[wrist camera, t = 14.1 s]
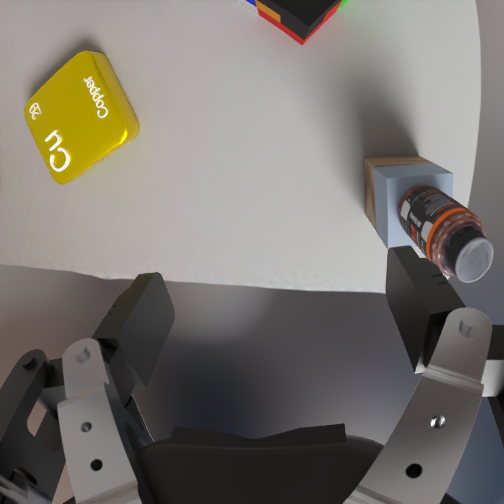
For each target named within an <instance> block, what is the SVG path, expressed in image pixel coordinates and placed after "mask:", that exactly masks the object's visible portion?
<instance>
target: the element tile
mask: <svg viewBox="0 0 504 504" xmlns="http://www.w3.org/2000/svg"><path fill="white" fill-rule="evenodd" d="M24 114H25V119H26V122H27V124H28V126H29V129H30V131H31V133H32V135H33V138H34V140H35V142H36V144H37V147H38V149H39V151H40V153H41V155H42V157H43V159H44V161H45V163H46V165H47V167H48V169H49V171H50V173H51V175H52V177H53V179H54V180H55V181H56V182H57V183H58V184H66V183H69V182H71V181H73V180H75V179H77V178H79V177H80V176H82V175H83V174H84V173H86V172H87V171H89V170H90V169H91V168H93V167H94V166H95V165H97V164H98V163H100V162H101V161H103V160H104V159H105V158H107V157H108V156H110V155H111V154H113V153H114V152H116V151H117V150H119V149H120V148H122V147H123V146H125V145H126V144H128V143H129V142H131V141H132V140H133V139H135V138H136V136H137V135H138V133H139V129H140V127H139V121H138V119H137V117H136V115H135V113H134V111H133V109H132V107H131V105H130V103H129V101H128V99H127V97H126V95H125V93H124V91H123V89H122V87H121V85H120V83H119V81H118V79H117V77H116V74H115V72H114V70H113V68H112V66H111V64H110V62H109V60H108V58H107V57H106V55H104V54H103V53H99V52H92V51H82V52H79V53H78V54H76V55H75V56H74V57H73V58H72V59H70V60H69V61H68V62H67V63H66V64H65V65H64V66H63V67H62V68H60V69H59V70H58V71H57V72H56V73H55V74H54V75H53V76H52V77H51V78H50V79H49V80H48V81H47V82H46V83H45V84H44V85H43V86H42V87H41V88H40V89H39V90H38V91H37V92H36V93H35V94H34V95H33V96H32V97H31V98H30V99H29V100H28V102H27V104H26V106H25V109H24Z"/></svg>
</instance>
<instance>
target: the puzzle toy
mask: <svg viewBox="0 0 504 504" xmlns="http://www.w3.org/2000/svg"><path fill="white" fill-rule="evenodd" d="M237 1H238V2H239V3H241V4H243V5H244V6H246V7H247V8H249V9H251V10H252V11H254V12H255V13H257V14H259V15H260V16H262V17H263V18H265V19H266V20H268V21H269V22H271V23H272V24H273V25H275V26H276V27H278V28H279V29H281V30H282V31H283V32H285V33H286V34H288V35H289V36H290V37H292V38H293V39H294V40H296V41H297V42H298V43H300V44H301V45H303V44H304V43H305V42H306V41H307V40H308V39H309V38H310V37H311V36H312V35H313V34H314V33H315V32H316V31H317V30H318V29H319V28H320V27H321V26H322V25H323V24H324V23H325V22H326V21H327V20H328V19H329V18H330V17H331V16H332V15H333V14H334V13H335V12H336V11H337V10H338V9H339V8H340V7H341V6H342V5H343V4H344V3H345V2H347V1H348V0H237Z"/></svg>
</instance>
